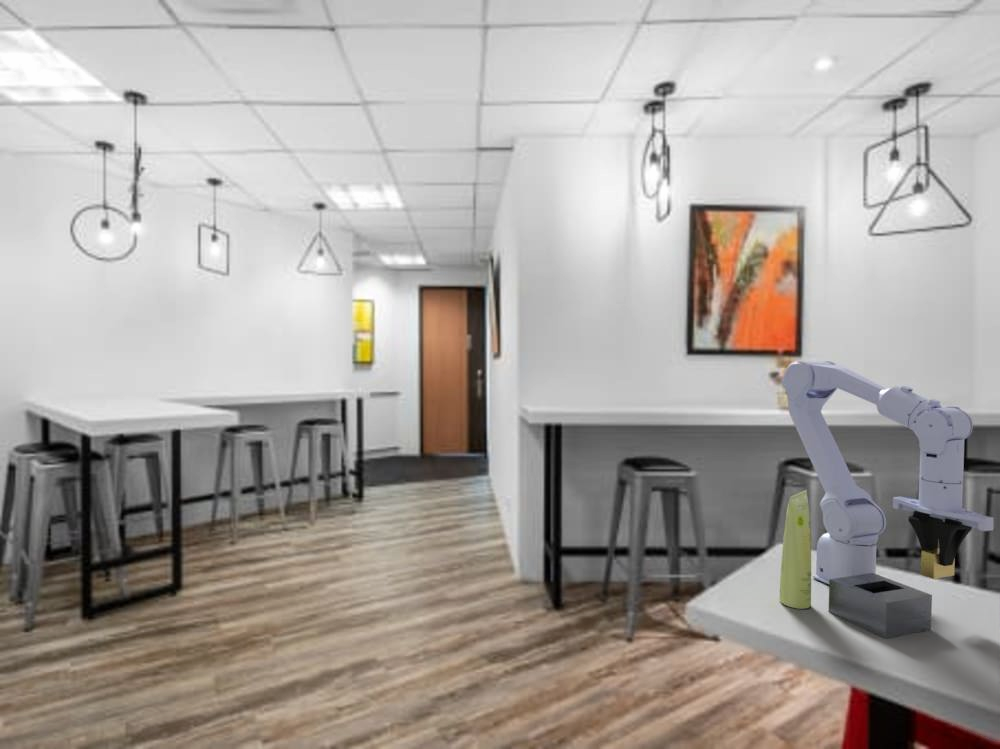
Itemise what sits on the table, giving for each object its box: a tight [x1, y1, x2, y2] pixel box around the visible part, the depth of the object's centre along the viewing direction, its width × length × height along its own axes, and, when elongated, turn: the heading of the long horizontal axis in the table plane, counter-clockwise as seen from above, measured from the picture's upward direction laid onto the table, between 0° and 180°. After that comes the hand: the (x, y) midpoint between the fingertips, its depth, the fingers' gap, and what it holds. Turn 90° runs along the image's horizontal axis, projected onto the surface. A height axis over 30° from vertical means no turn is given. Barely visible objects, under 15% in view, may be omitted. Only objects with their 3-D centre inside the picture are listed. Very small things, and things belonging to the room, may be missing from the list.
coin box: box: [828, 573, 933, 639], centre depth 94 cm, size 10×10×6 cm
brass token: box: [920, 547, 956, 580], centre depth 95 cm, size 2×5×4 cm, turn 110°
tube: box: [779, 489, 812, 610], centre depth 100 cm, size 6×5×20 cm
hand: (938, 562), depth 95 cm, fingers closed on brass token, 2 cm apart
